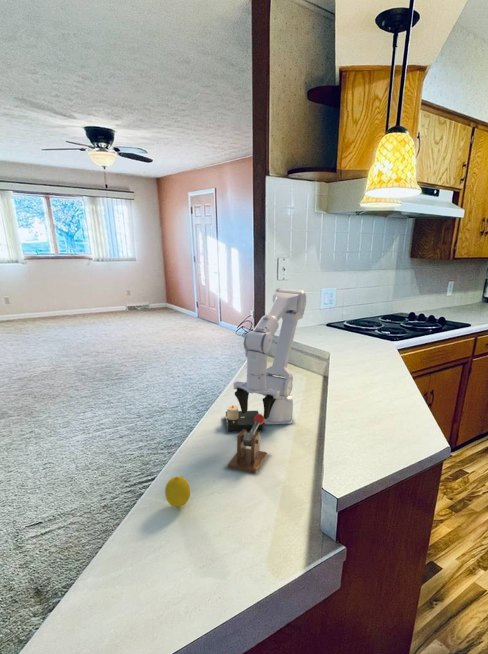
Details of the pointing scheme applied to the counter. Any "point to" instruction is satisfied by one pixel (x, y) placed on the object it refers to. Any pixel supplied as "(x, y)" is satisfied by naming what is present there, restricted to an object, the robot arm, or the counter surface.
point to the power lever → (253, 430)
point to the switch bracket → (248, 454)
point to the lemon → (177, 491)
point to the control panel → (242, 422)
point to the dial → (232, 412)
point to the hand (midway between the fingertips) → (255, 415)
